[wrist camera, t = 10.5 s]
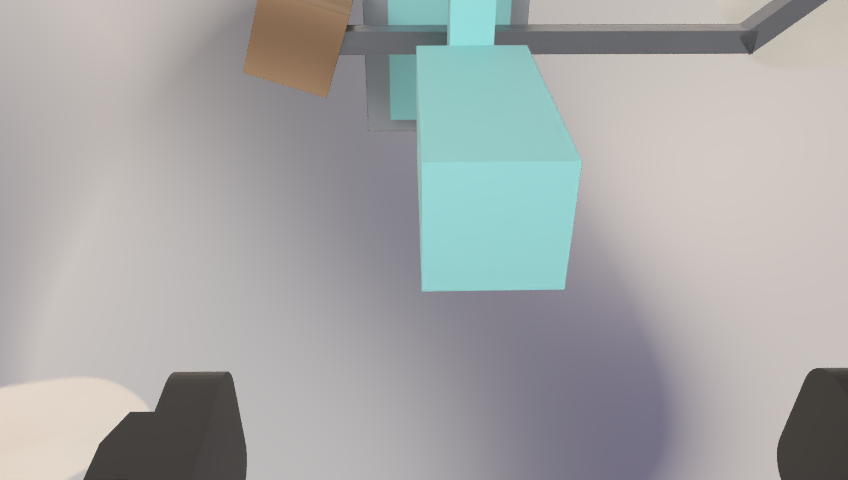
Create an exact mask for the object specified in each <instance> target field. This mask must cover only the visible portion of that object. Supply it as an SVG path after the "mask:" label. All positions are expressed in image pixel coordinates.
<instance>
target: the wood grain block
mask: <svg viewBox="0 0 848 480" xmlns="http://www.w3.org/2000/svg"><path fill="white" fill-rule="evenodd" d="M352 3H353V0H258V2H257V7H256V11H255V17H254V22H253V26H252V31H251V36H250V41H249V46H248V50H247V56H246V60H245V65H244V70H243V73H246V74H250V75H253V76H256V77H260V78H263V79H266V80H269V81H273V82H276V83H279V84H283V85H286V86H289V87H292V88H296V89H299V90H302V91H305V92H309V93H312V94H315V95H319V96H322V97H325V98H327V95H328V92H329V88H330V85H331V81H332V77H333V73H334V70H335V66H336V63H337V59H338V56H339V52H340V48H341V45H342V41H343V38H344V34H345V30H346V27H347V23H348V20H349V16H350V11H351V7H352Z"/></svg>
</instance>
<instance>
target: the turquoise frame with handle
mask: <svg viewBox="0 0 848 480" xmlns="http://www.w3.org/2000/svg"><path fill="white" fill-rule="evenodd" d="M511 4H512V0H388V25H447V46H416V55H389V71H390V111H391V120H417V171H418V199H419V225H420V255H421V283H422V291H485V290H486V291H487V290H558V289H559V290H564V289H565V282H566V275H567V267H568V260H569V253H570V246H571V238H572V231H573V224H574V217H575V209H576V203H577V195H578V188H579V181H580V174H581V167H582V160H581V157H580V155H579V153H578V151H577V149H576V147H575V145H574V143H573V141H572V138H571V136H570V134H569V132H568V130H567V128H566V126H565V124H564V122H563V119H562V118H561V115H560V113H559V111H558V109H557V107H556V105H555V103H554V101H553V98H552V96H551V95H550V92H549V90H548V88H547V86H546V84H545V82H544V80H543V78H542V75H541V73H540V71H539V69H538V67H537V65H536V63H535V61H534V59H533V56H532V54H531V52H530V50H529V48H528V46H527V45H494V35H495V25H510V18H511Z"/></svg>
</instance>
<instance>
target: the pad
mask: <svg viewBox="0 0 848 480" xmlns="http://www.w3.org/2000/svg"><path fill="white" fill-rule="evenodd" d="M529 1H530V0H512V4H511V18H510V25H528V13H529V12H528V11H529ZM363 16H364V25H388V0H363ZM365 64H366V86H367V87H366V88H367V112H368V131H417V120H391V111H390V71H389V55H365Z"/></svg>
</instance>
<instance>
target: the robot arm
mask: <svg viewBox="0 0 848 480" xmlns="http://www.w3.org/2000/svg"><path fill="white" fill-rule="evenodd" d="M777 462H778V469H779V473H780V477H781V480H848V368H816V369H813V370H812V371H810V372H809V374H808V375H807V377H806V378H805V380H804V383H803V385H802V387H801V390H800V392H799V395H798V397H797V399H796V402H795V404H794V407H793V409H792V411H791V413H790V416H789V418H788V420H787V423H786V425H785V428H784V430H783V432H782V435H781V437H780V440H779V443H778V448H777ZM246 467H247V453H246V444H245V438H244V433H243V428H242V423H241V418H240V413H239V407H238V402H237V397H236V392H235V387H234V382H233V378H232V375H231V374H230V373H229V372H174V373H172V374H171V375H170V376H169V378H168V380H167V382H166V384H165V386H164V389H163V392H162V394H161V397H160V399H159V402H158V404H157V407H156V409H155V412H130V413H129V414H128V415H127V416H126V417H125V418H124V419H123V420H122V421H121V422H120V423H119V424H118V425H117V426H116V427H115V428H114V429H113V430H112V431H111V432H110V433H109V434H108V436H107V437H106V438H105V439H104V440H103V441H102V442H101V443H100V444H99V447H98V449H97V451H96V453H95V455H94V457H93V460H92V462H91V464H90V466H89V468H88V471H87V473H86V475H85V477H84V480H246Z"/></svg>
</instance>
